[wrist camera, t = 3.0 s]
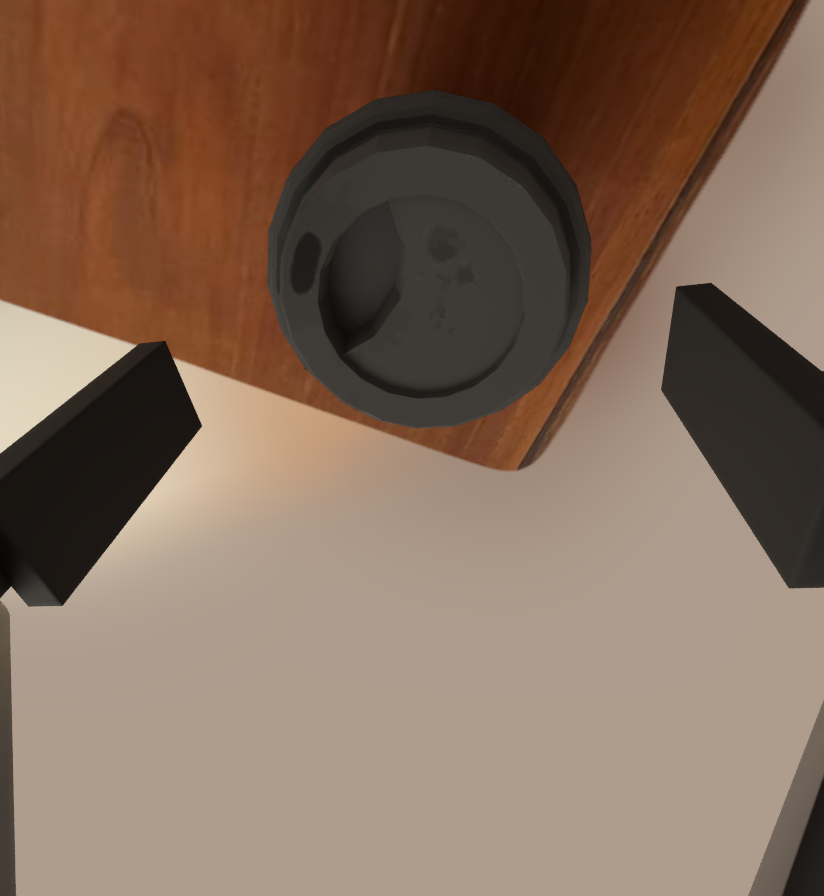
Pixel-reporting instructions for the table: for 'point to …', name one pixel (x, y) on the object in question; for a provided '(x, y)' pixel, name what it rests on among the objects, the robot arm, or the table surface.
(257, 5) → the table surface
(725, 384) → the robot arm
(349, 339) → the coffee cup
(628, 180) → the table surface
